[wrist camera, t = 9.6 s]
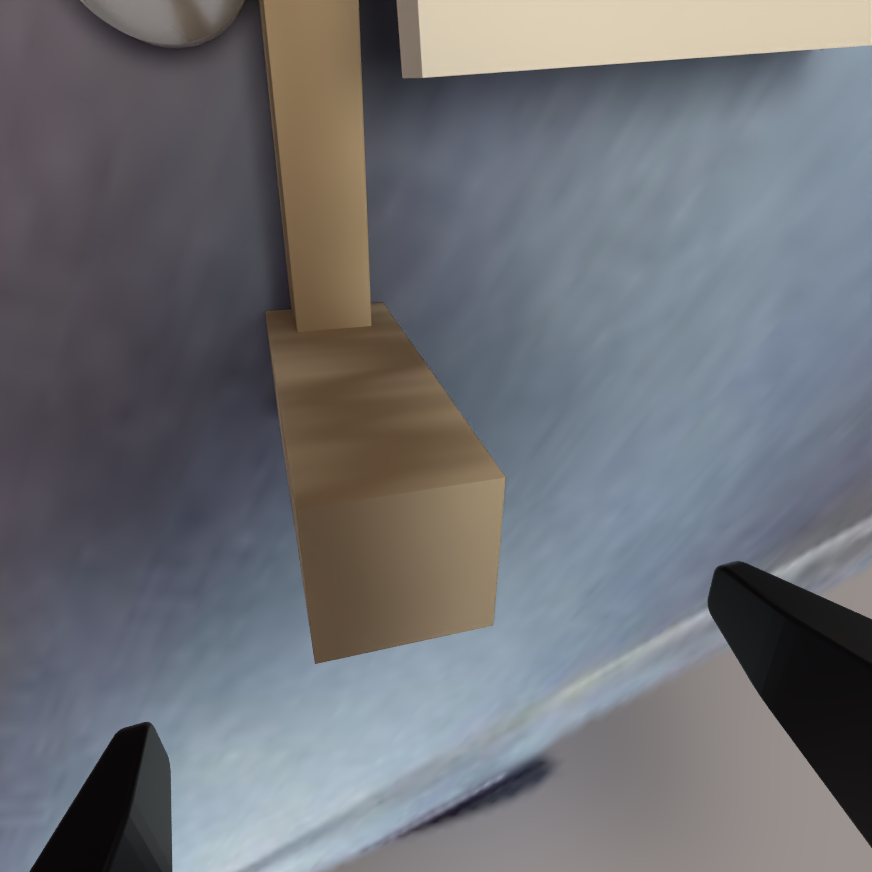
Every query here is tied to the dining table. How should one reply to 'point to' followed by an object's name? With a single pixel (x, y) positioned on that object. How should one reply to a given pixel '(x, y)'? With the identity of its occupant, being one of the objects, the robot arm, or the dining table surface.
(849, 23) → the miniature cream chair
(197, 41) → the token
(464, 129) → the dining table surface
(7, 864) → the dining table surface
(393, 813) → the dining table surface
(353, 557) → the tan block with post
